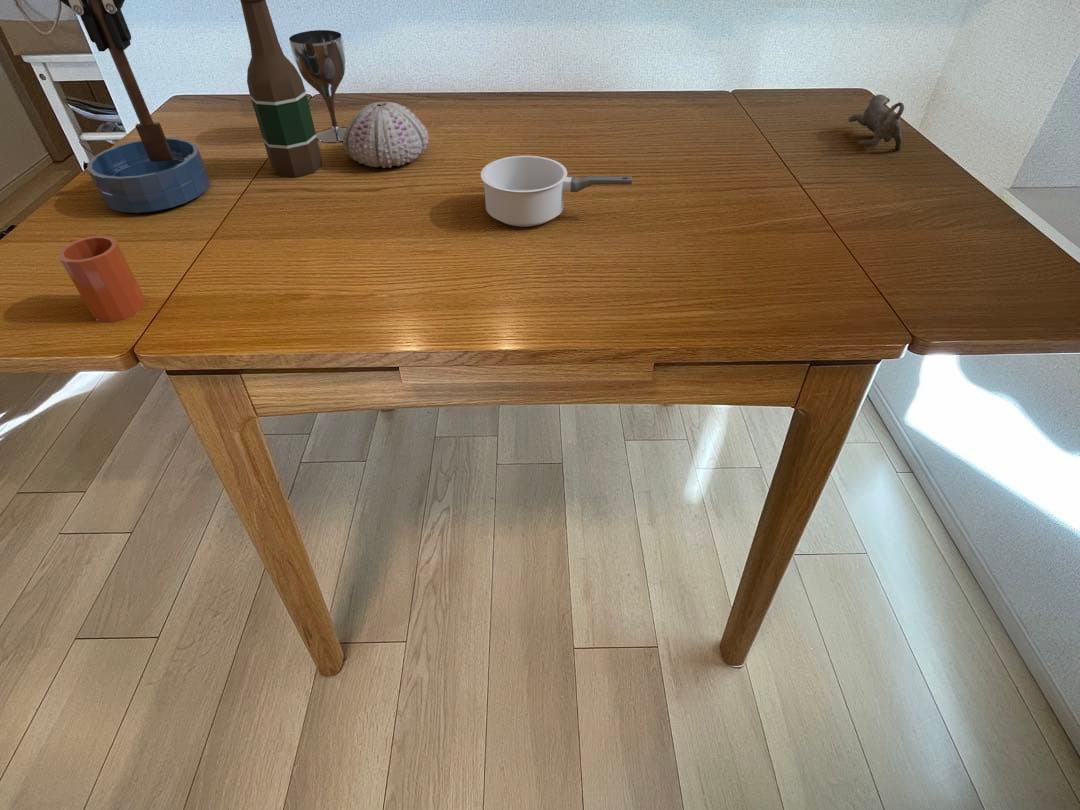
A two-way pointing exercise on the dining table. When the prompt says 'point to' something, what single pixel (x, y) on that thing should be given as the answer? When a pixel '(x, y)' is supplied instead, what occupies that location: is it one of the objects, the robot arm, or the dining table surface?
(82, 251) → the utensil pot
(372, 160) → the sea urchin shell
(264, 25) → the beer bottle
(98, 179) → the bowl
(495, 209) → the saucepan
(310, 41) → the wine glass
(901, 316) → the dining table surface
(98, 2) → the spatula
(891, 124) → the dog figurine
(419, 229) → the dining table surface
